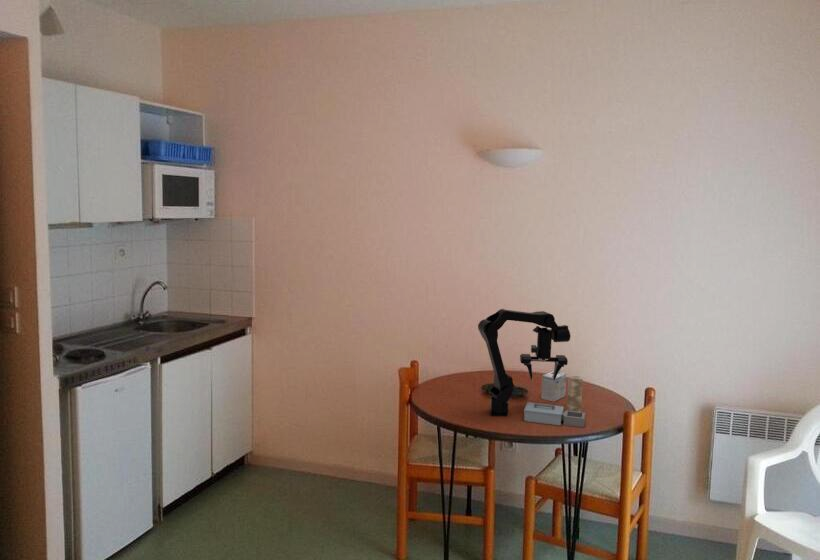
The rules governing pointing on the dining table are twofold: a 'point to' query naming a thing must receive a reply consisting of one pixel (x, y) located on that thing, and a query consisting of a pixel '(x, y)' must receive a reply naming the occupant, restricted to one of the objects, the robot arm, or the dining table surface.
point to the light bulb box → (553, 386)
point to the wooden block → (574, 393)
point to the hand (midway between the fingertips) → (542, 379)
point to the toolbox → (552, 415)
